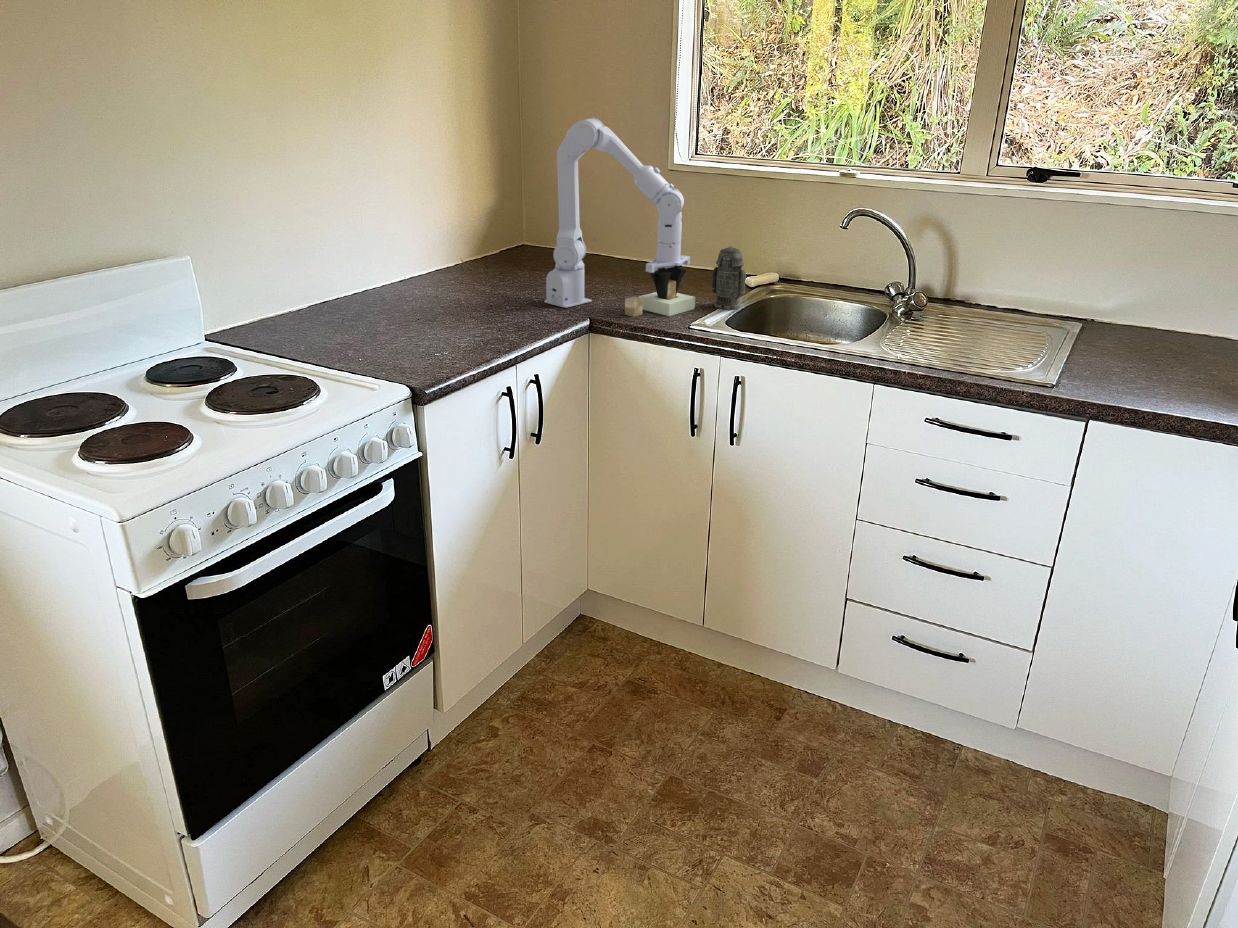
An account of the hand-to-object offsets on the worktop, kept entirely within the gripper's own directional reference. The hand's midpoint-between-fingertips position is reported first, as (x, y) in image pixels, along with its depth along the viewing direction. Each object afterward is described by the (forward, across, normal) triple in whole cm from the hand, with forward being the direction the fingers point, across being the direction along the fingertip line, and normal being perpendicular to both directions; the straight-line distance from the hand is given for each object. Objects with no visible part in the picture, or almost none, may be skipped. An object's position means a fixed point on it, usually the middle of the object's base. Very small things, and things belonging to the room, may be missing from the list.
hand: (666, 297), depth 229 cm
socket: (+3, 0, 0) cm, 3 cm away
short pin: (+3, -10, +2) cm, 11 cm away
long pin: (+3, 0, 0) cm, 3 cm away
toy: (+3, +13, -9) cm, 16 cm away
